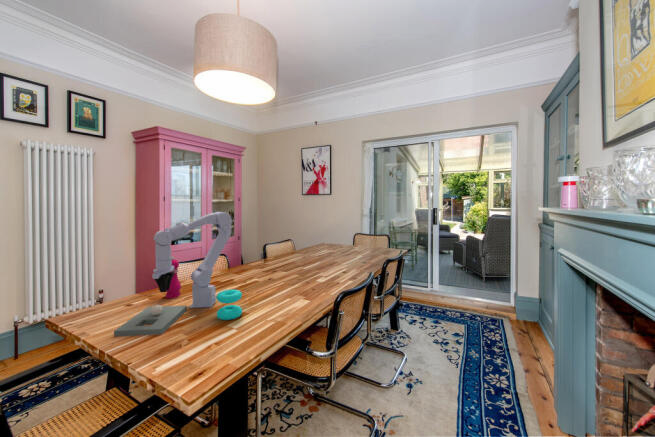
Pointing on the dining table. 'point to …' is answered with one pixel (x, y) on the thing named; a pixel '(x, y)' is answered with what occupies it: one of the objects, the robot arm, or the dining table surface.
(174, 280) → the pepper mill
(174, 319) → the plate
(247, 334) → the dining table surface
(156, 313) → the ball
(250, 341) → the dining table surface
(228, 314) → the donuts
